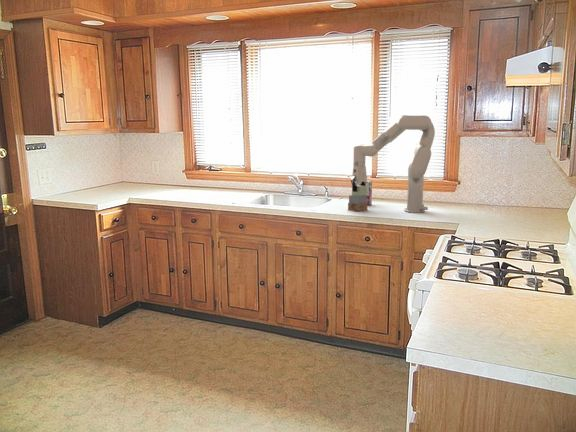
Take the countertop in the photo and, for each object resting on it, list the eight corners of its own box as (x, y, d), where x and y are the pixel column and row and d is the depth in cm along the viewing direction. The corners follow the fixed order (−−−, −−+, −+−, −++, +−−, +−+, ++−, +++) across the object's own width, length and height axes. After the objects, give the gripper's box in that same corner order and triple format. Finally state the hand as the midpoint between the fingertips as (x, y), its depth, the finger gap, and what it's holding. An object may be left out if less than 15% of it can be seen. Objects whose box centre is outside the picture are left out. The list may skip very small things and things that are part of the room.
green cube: (365, 195, 327) (365, 185, 326) (359, 196, 323) (360, 186, 322) (357, 194, 331) (357, 185, 330) (352, 195, 327) (352, 186, 326)
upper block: (366, 202, 328) (366, 195, 327) (358, 204, 322) (359, 196, 321) (356, 201, 333) (356, 193, 332) (348, 202, 328) (349, 195, 327)
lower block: (367, 210, 329) (367, 202, 328) (359, 212, 322) (360, 204, 321) (355, 208, 335) (355, 201, 334) (348, 210, 328) (348, 203, 327)
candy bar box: (371, 204, 348) (372, 181, 345) (369, 205, 344) (370, 181, 341) (356, 203, 354) (356, 180, 350) (353, 204, 349) (354, 180, 346)
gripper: (356, 165, 315) (356, 192, 318) (371, 163, 327) (371, 189, 331) (346, 164, 319) (346, 191, 323) (361, 162, 332) (361, 188, 335)
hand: (358, 190), depth 327 cm, fingers open, 9 cm apart
